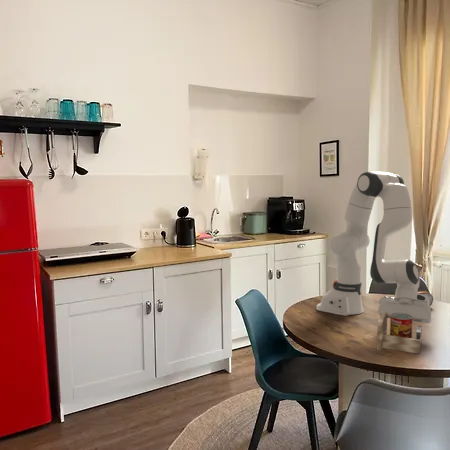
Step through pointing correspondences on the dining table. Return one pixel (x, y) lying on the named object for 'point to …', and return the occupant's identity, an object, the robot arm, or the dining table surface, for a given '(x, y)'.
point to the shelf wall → (394, 338)
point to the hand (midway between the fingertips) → (402, 328)
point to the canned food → (401, 325)
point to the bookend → (419, 334)
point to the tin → (427, 296)
